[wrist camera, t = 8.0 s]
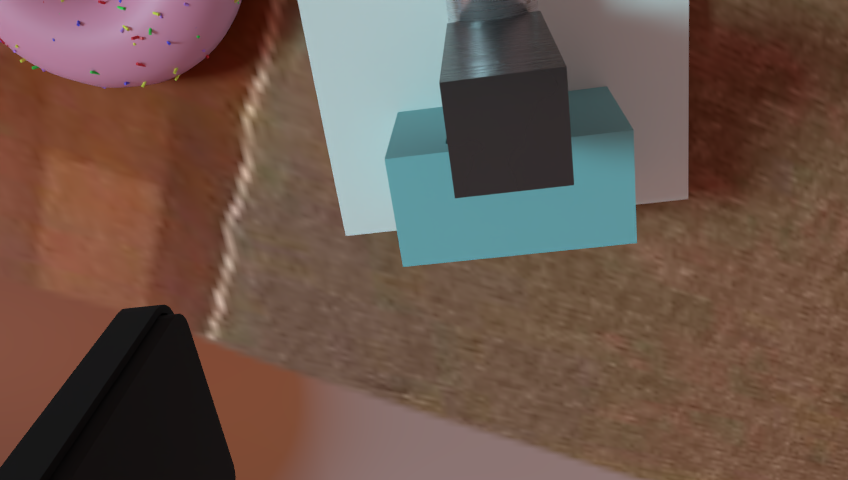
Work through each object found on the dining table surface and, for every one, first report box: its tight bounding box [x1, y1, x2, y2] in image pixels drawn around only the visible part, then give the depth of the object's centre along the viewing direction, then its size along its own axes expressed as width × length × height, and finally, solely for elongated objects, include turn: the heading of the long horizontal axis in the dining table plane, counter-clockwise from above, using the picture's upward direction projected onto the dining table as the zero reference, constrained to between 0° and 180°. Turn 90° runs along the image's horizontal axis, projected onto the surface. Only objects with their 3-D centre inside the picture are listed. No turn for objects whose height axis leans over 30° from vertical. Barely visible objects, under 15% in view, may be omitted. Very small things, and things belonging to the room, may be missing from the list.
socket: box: [385, 86, 637, 267], centre depth 28 cm, size 4×8×5 cm, turn 98°
